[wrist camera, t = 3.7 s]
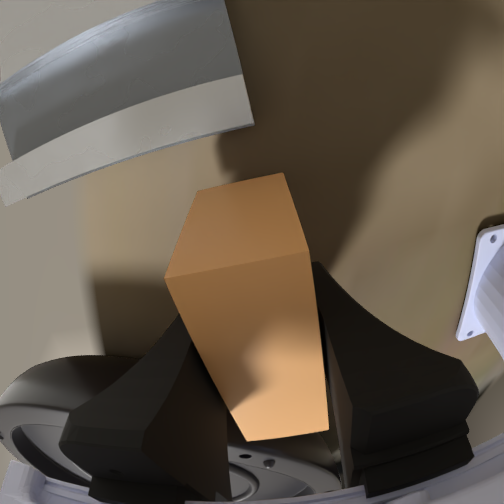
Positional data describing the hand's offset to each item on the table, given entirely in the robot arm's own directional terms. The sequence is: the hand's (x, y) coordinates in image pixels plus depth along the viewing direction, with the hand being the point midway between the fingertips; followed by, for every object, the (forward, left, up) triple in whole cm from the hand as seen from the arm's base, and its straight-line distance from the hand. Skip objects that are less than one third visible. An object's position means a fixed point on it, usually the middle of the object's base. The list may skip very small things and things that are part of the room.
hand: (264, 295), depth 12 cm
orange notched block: (0, 0, -1) cm, 1 cm away
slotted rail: (+4, -12, -3) cm, 13 cm away
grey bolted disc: (+13, +18, -3) cm, 23 cm away
